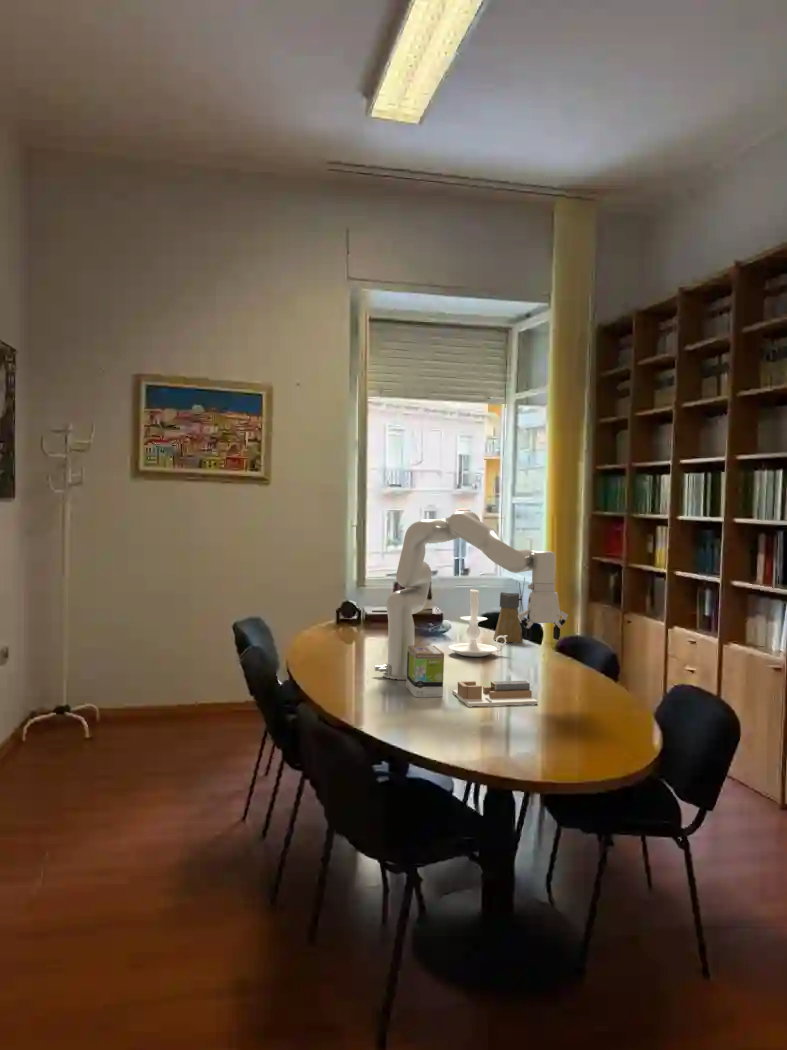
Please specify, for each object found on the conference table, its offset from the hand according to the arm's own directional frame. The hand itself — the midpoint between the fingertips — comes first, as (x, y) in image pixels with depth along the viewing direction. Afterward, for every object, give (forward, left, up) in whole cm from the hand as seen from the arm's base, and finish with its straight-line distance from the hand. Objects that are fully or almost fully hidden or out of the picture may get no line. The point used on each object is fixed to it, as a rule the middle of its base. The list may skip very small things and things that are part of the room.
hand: (542, 639), depth 269 cm
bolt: (-11, -1, -18) cm, 21 cm away
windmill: (+26, +104, -19) cm, 108 cm away
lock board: (-17, -1, -19) cm, 26 cm away
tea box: (-37, +11, -19) cm, 43 cm away
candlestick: (+1, +71, -19) cm, 73 cm away
